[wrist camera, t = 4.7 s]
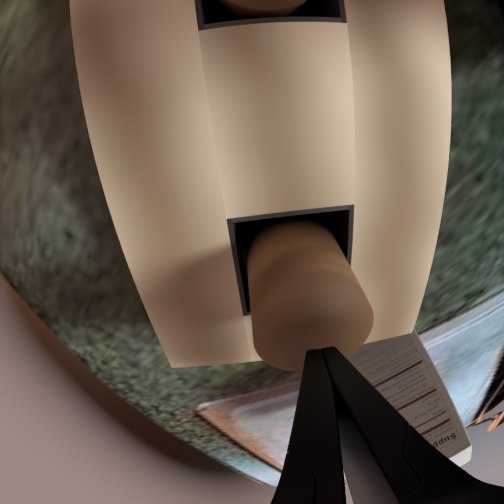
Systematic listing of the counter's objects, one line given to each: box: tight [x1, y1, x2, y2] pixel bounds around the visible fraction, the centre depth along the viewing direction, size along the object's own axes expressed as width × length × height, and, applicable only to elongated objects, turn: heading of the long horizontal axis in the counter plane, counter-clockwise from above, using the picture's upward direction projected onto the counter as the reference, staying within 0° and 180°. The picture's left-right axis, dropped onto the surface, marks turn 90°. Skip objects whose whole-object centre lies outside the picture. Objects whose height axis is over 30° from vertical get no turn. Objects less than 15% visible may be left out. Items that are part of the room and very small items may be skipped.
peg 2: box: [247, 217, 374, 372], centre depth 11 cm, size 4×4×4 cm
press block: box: [70, 0, 451, 368], centre depth 12 cm, size 14×24×5 cm, turn 6°
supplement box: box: [347, 329, 472, 467], centre depth 19 cm, size 7×7×13 cm
